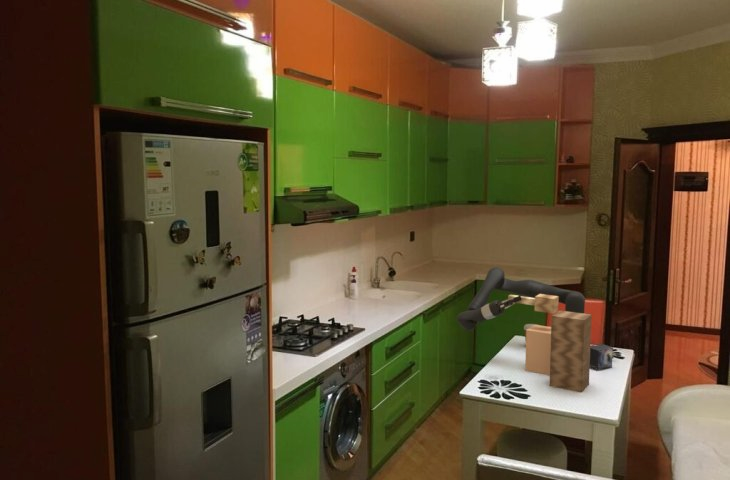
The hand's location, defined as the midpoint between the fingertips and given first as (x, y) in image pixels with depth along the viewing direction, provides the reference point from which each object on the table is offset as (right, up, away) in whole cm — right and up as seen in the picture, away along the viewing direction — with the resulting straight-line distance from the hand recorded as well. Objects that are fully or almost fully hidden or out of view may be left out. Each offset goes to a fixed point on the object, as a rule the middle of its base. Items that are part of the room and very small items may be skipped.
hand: (522, 296), depth 281 cm
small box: (+38, -35, 0) cm, 51 cm away
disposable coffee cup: (+15, -31, +34) cm, 48 cm away
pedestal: (+10, -35, -3) cm, 36 cm away
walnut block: (+15, -37, -23) cm, 46 cm away
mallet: (+4, -5, -2) cm, 7 cm away
